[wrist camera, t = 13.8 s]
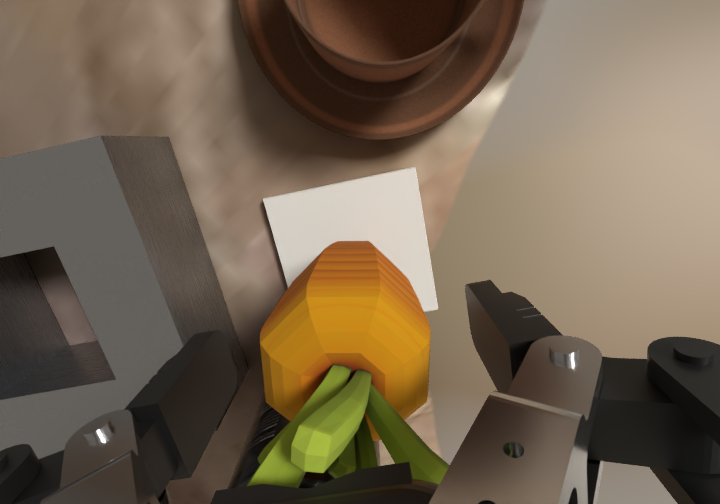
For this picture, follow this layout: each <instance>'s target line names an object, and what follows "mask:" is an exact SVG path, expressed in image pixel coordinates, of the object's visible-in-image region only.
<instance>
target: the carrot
mask: <svg viewBox="0 0 720 504" xmlns="http://www.w3.org/2000/svg"><path fill="white" fill-rule="evenodd" d="M260 348H261V358H262V368H263V378H264V387H265V397H266V403H267V404H269V405H270V406H271V407H273V408H274V409H275V410H276V411H278V412H279V413H280V414H282V415H283V416H284V417H285V418H287V419H288V420H289V421H291V422H290V423H289V424H288V425H287V426H286V427H285V428H284V429H283V430H282V431H281V432H280V433H279V434H278V435H277V436H276V437H275V438H274V439H273V440H272V441H271V442H270V443H269V444H268V445H267V446H266V447H265V448H264V449H263V450H262V452H261V453H260V455H259V456H258V461H259V463H260V466H259V467H258V469H257V470H256V472H255V473H254V474H253V476H252V477H251V479H250V481H249V482H248V484H247V486H251V485H258V484H268V485H277V486H286V487H295V488H298V487H299V485H300V483H301V481H302V479H303V477H304V475H305V473H306V472H317V473H324V472H325V471H326V470H327V468H328V467H329V470H328V473H329V474H331V475H332V476H333V477H334V478H335V479H336V478H339V477H341V476H344V475H346V474H349V473H352V472H354V471H357V470H359V469H365V468H371V467H378V462H377V457H376V451H375V447H374V443H373V441H379V440H380V439H381V440H382V442H383V443H384V445H385V447H386V448H387V450H388V452H389V453H390V455H391V457H392V459H393V460H394V462H395V464H398V463H405V462H409V463H410V467H411V472H412V477H413V479H417V480H424V481H428V482H433V483H436V484H440V482H441V480H442V479H443V477H444V475H445V473H446V472H447V470H448V468H449V466H450V465H448V464H447V463H446V462H445V461H444V460H443V459H441V458H440V457H439V456H438V455H437V454H435V453H434V452H433V451H432V450H431V449H430V448H429V447H428V446H427V445H426V444H425V443H424V442H423V441H422V439H421V438H420V437H419V436H418V435H417V434H416V433H415V432H414V431H413V430H412V428H411V427H410V426H409V425H408V424H407V423H406V422H405V421H404V420H405V419H406V418H407V417H409V416H410V415H411V414H412V413H413V412H415V411H416V410H417V409H418V408H419V407H421V406H422V405H423V404H424V403H426V401H427V396H428V382H429V358H430V326H429V323H428V321H427V318H426V316H425V314H424V311H423V309H422V306H421V304H420V302H419V299H418V297H417V295H416V293H415V291H414V289H413V287H412V285H411V283H410V281H409V279H408V278H407V277H406V276H405V275H404V274H403V273H402V272H401V271H400V270H399V269H398V268H397V267H396V266H395V265H394V264H393V263H392V262H391V261H390V260H389V259H388V258H387V257H386V256H385V255H384V254H382V253H381V252H380V251H379V250H378V249H377V248H376V247H375V246H374V245H373V244H372V243H371V242H369V241H337V242H335V243H332V244H331V245H329V246H328V247H326V248H325V249H324V250H323V251H322V252H321V253H320V254H319V255H318V256H317V257H316V258H315V259H314V260H313V261H312V262H311V263H310V264H309V265H308V266H307V268H306V269H305V270H304V271H303V272H302V273H301V274H300V275H299V276H298V277H297V278H296V279H295V280H294V281H293V282H292V284H291V285H290V286H289V288H288V289H287V290H286V292H285V293H284V294H283V296H282V297H281V299H280V300H279V302H278V303H277V305H276V306H275V308H274V309H273V311H272V313H271V314H270V316H269V317H268V319H267V320H266V322H265V324H264V325H263V327H262V330H261V332H260Z"/></svg>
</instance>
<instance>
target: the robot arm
mask: <svg viewBox="0 0 720 504" xmlns="http://www.w3.org/2000/svg"><path fill="white" fill-rule="evenodd" d="M465 293H466V300H467V308H468V315H469V322H470V330H471V335H472V339H473V342H474V345H475V348H476V350H477V352H478V354H479V356H480V358H481V360H482V361H483V363H484V365H485V367H486V369H487V371H488V373H489V375H490V377H491V379H492V381H493V383H494V384H495V386H496V388H497V390H498V391H493V392H491V394H490V395H489V396H488V398H487V400H486V402H485V403H484V405H483V407H482V409H481V410H480V412H479V414H478V416H477V418H476V419H475V421H474V423H473V425H472V427H471V428H470V430H469V432H468V434H467V436H466V437H465V439H464V441H463V443H462V445H461V446H460V448H459V450H458V452H457V454H456V455H455V457H454V459H453V461H452V463H451V465H450V466H449V468H448V470H447V472H446V473H445V475H444V477H443V479H442V480H441V482H440V484H436V483H433V482H428V481H424V480H417V479H413V477H412V472H411V467H410V463H409V462H405V463H398V464H391V465H385V466H378V467H371V468H365V469H359V470H357V471H354V472H352V473H349V474H346V475H344V476H341V477H339V478H336V479H333V480H331V481H328V482H326V483H323V484H320V485H318V486H315V487H312V488H295V487H286V486H277V485H268V484H258V485H251V486H245V487H238V488H231V489H225V490H218V491H216V492H215V495H214V497H213V500H212V502H211V504H597V500H598V494H599V488H600V482H601V476H602V469H603V464H604V461H606V462H615V463H622V464H630V465H639V466H646V467H650V469H651V470H652V471H653V473H654V474H655V475H656V476H657V478H658V479H659V480H660V482H661V483H662V484H663V485H664V487H665V488H666V489H667V491H668V492H669V493H670V494H671V496H672V497H673V498H674V499H675V501H676V502H677V503H678V504H720V345H718V344H715V343H713V342H709V341H705V340H701V339H696V338H688V337H667V338H662V339H658V340H656V341H654V342H652V343H651V344H650V345H649V346H648V351H647V359H625V358H608V357H602V354H601V352H600V350H599V349H598V348H597V347H596V346H594V345H593V344H591V343H590V342H588V341H585V340H582V339H579V338H576V337H571V336H563V335H562V334H561V333H560V332H559V331H558V330H557V329H556V328H555V327H554V326H553V325H552V324H551V323H550V322H549V321H548V320H547V319H546V318H545V317H544V316H543V315H541V313H540V312H539V311H538V310H537V309H536V308H534V306H533V305H532V304H531V303H530V302H529V301H528V300H527V299H526V298H525V297H522V296H520V295H518V294H515V293H513V292H508V293H501V292H500V290H499V289H498V288H497V287H496V286H495V285H494V284H493V282H492V281H491V280H487V281H481V282H476V283H470V284H466V286H465ZM237 381H238V378H237V371H236V367H235V365H234V362H233V359H232V356H231V354H230V351H229V348H228V345H227V342H226V340H225V337H224V335H223V333H222V332H221V331H220V330H213V331H207V332H202V333H196V334H194V335H193V336H192V337H191V338H190V340H189V341H188V342H187V343H186V344H185V345H184V346H183V348H182V349H181V350H180V351H179V352H178V353H177V354H176V355H175V356H173V357H172V358H171V359H169V360H168V361H167V362H166V363H165V364H164V365H163V366H162V367H161V368H160V369H159V370H158V372H157V374H156V375H154V376H153V377H152V378H151V379H150V381H149V384H146V385H145V386H144V387H143V388H142V390H141V391H140V392H139V393H138V394H137V395H136V396H135V397H134V399H133V400H132V401H131V402H130V403H129V404H128V405H127V406H126V408H125V409H123V410H115V411H112V412H109V413H106V414H104V415H101V416H99V417H97V418H95V419H94V420H92V421H90V422H89V423H87V424H86V425H84V426H83V427H81V428H80V429H79V430H78V431H77V432H75V433H74V434H73V435H72V436H71V437H70V439H69V440H68V441H67V443H66V445H65V449H64V450H62V451H59V452H57V453H54V454H51V455H49V456H46V457H43V458H40V459H38V458H37V456H36V454H35V453H34V451H33V449H32V447H31V446H30V445H28V444H19V445H15V446H12V447H9V448H6V449H4V450H1V451H0V504H173V503H172V499H171V496H170V494H169V491H168V489H167V487H166V486H167V484H168V482H169V481H170V480H176V479H182V478H189V477H191V476H192V474H193V472H194V470H195V468H196V466H197V464H198V462H199V460H200V458H201V456H202V454H203V452H204V450H205V448H206V446H207V445H208V443H209V441H210V439H211V437H212V435H213V433H214V431H215V429H216V427H217V425H218V423H219V421H220V419H221V417H222V415H223V413H224V411H225V410H226V408H227V406H228V404H229V402H230V400H231V398H232V396H233V394H234V392H235V390H236V387H237Z"/></svg>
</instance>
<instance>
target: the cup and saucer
mask: <svg viewBox="0 0 720 504" xmlns="http://www.w3.org/2000/svg"><path fill="white" fill-rule="evenodd" d="M523 3H524V0H238V5H239V11H240V16H241V20H242V24H243V27H244V31H245V34H246V37H247V39H248V42H249V45H250V47H251V50H252V52H253V54H254V56H255V58H256V60H257V62H258V64H259V65H260V67H261V69H262V71H263V72H264V74H265V75H266V77H267V78H268V80H269V81H270V83H271V84H272V85H273V87H274V88H275V89H276V90H277V91H278V92H279V94H280V95H281V96H282V97H283V98H284V99H285V100H286V101H287V102H288V103H289V104H290V105H291V106H292V107H294V108H295V109H296V110H297V111H299V112H300V113H301V114H302V115H304V116H305V117H307V118H308V119H310V120H311V121H313V122H315V123H317V124H318V125H320V126H322V127H324V128H326V129H329V130H331V131H334V132H336V133H339V134H343V135H346V136H350V137H355V138H360V139H371V140H387V139H395V138H402V137H406V136H411V135H414V134H417V133H420V132H423V131H426V130H428V129H430V128H432V127H435V126H437V125H439V124H440V123H442V122H444V121H446V120H447V119H449V118H451V117H452V116H453V115H455V114H456V113H458V112H459V111H460V110H462V109H463V108H464V107H465V106H466V105H467V104H469V103H470V102H471V101H472V100H473V99H474V98H475V97H476V96H477V95H478V94H479V93H480V92H481V91H482V89H483V88H484V87H485V86H486V84H487V83H488V82H489V81H490V79H491V78H492V77H493V75H494V74H495V72H496V71H497V69H498V68H499V66H500V64H501V62H502V61H503V59H504V57H505V55H506V54H507V51H508V49H509V47H510V45H511V43H512V40H513V38H514V35H515V32H516V29H517V27H518V24H519V20H520V16H521V13H522V9H523Z"/></svg>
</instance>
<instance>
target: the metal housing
mask: <svg viewBox="0 0 720 504" xmlns="http://www.w3.org/2000/svg"><path fill="white" fill-rule="evenodd" d="M53 246H54V247H55V250H56V252H57V254H58V256H59V258H60V260H61V262H62V265H63V267H64V269H65V271H66V273H67V275H68V277H69V280H70V282H71V284H72V286H73V288H74V290H75V292H76V294H77V297H78V299H79V301H80V303H81V305H82V307H83V309H84V312H85V314H86V316H87V318H88V320H89V322H90V324H91V327H92V329H93V331H94V333H95V335H96V337H97V339H98V341H94V342H89V343H83V344H78V345H73V346H69V345H68V343H67V341H66V338H65V336H64V334H63V332H62V330H61V328H60V326H59V324H58V322H57V320H56V318H55V316H54V314H53V312H52V310H51V308H50V306H49V304H48V302H47V300H46V298H45V296H44V294H43V292H42V290H41V288H40V286H39V284H38V282H37V280H36V278H35V276H34V274H33V272H32V270H31V268H30V266H29V264H28V262H27V260H26V258H25V256H24V254H23V253H24V252H29V251H34V250H39V249H44V248H48V247H53ZM213 330H220V331H221V332H222V333H223V335H224V337H225V340H226V342H227V345H228V348H229V351H230V354H231V356H232V359H233V362H234V365H235V367H236V371H237V378H238V381H237V387H236V390H235V392H234V394H233V396H232V398H231V400H230V402H229V404H228V406H227V408H226V410H225V411H224V413H223V415H222V417H221V419H220V421H219V423H218V425H217V427H216V429H215V431H217V429H218V427H219V425H220V423H221V421H222V419H223V417H224V415H225V414H226V412H227V410H228V408H229V406H230V404H231V402H232V400H233V398H234V396H235V394H236V392H237V390H238V388H239V386H240V384H241V382H242V380H243V379H244V377H245V375H246V373H247V371H248V367H247V364H246V361H245V359H244V356H243V353H242V350H241V347H240V344H239V341H238V338H237V335H236V332H235V329H234V326H233V324H232V321H231V318H230V315H229V312H228V309H227V306H226V303H225V300H224V297H223V294H222V291H221V289H220V286H219V283H218V280H217V277H216V274H215V271H214V268H213V265H212V262H211V259H210V256H209V254H208V251H207V248H206V245H205V242H204V239H203V236H202V233H201V230H200V227H199V224H198V222H197V219H196V216H195V213H194V210H193V207H192V204H191V201H190V198H189V195H188V192H187V189H186V187H185V184H184V181H183V178H182V175H181V172H180V169H179V166H178V163H177V160H176V157H175V154H174V152H173V149H172V146H171V143H170V140H169V137H148V136H97V137H93V138H88V139H84V140H80V141H76V142H71V143H67V144H63V145H58V146H54V147H50V148H45V149H41V150H37V151H32V152H28V153H24V154H19V155H15V156H11V157H6V158H2V159H0V451H1V450H4V449H6V448H9V447H12V446H15V445H19V444H28V445H30V446H31V447H32V449H33V451H34V453H35V454H36V456H37V458H38V459H40V458H43V457H46V456H49V455H51V454H54V453H57V452H59V451H62V450H64V449H65V445H66V443H67V441H68V440H69V439H70V437H71V436H72V435H73V434H74V433H75V432H77V431H78V430H79V429H80V428H81V427H83V426H84V425H86V424H87V423H89V422H90V421H92V420H94V419H95V418H97V417H99V416H101V415H104V414H106V413H109V412H112V411H115V410H123V409H125V408H126V406H127V405H128V404H129V403H130V402H131V401H132V400H133V399H134V397H135V396H136V395H137V394H138V393H139V392H140V391H141V390H142V388H143V387H144V386H145V385H146V384H149V381H150V379H151V378H152V377H153V376H154V375H156V374H157V372H158V370H159V369H160V368H161V367H162V366H163V365H164V364H165V363H166V362H167V361H168V360H169V359H171V358H172V357H173V356H175V355H176V354H177V353H178V352H179V351H180V350H181V349H182V348H183V346H184V345H185V344H186V343H187V342H188V341H189V340H190V338H191V337H192V336H193V335H194V334H196V333H202V332H207V331H213Z"/></svg>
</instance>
